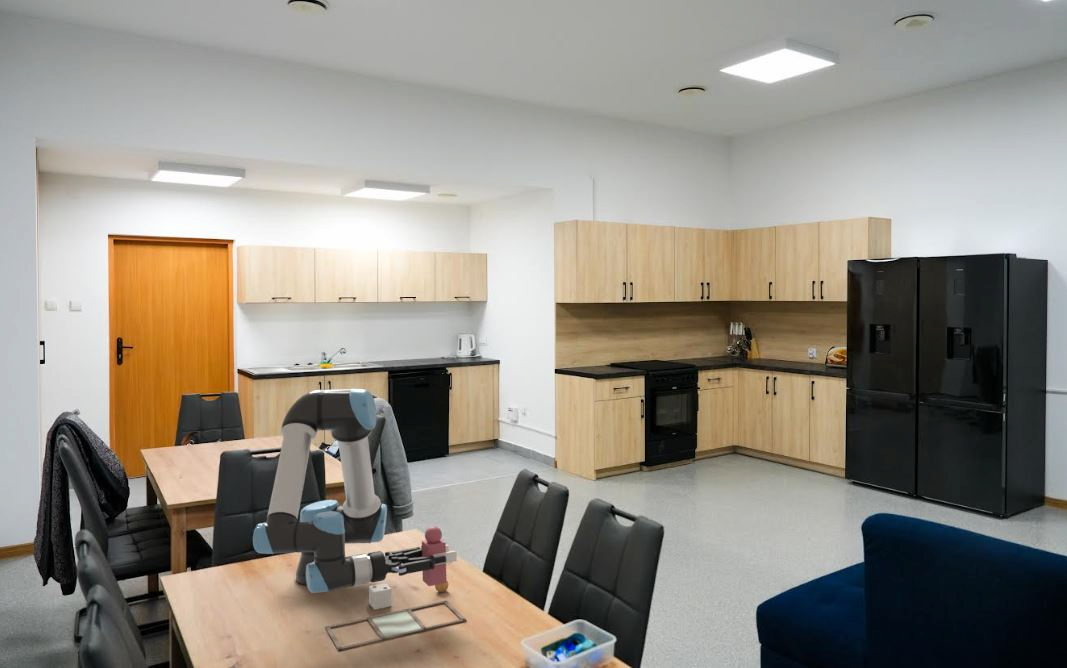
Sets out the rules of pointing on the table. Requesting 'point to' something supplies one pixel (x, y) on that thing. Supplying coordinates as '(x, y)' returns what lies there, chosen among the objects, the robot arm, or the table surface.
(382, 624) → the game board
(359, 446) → the robot arm
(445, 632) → the table surface
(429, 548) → the pawn
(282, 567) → the table surface
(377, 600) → the die
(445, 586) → the figurine
